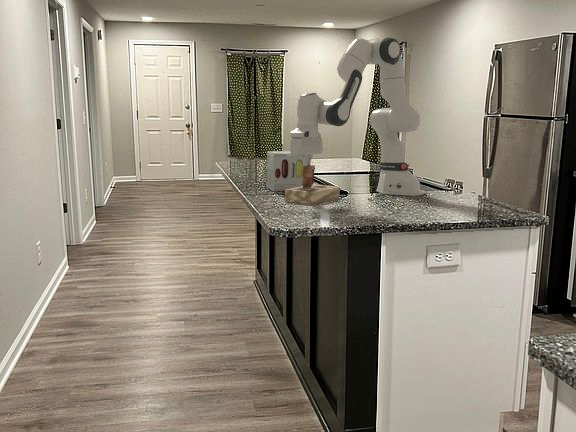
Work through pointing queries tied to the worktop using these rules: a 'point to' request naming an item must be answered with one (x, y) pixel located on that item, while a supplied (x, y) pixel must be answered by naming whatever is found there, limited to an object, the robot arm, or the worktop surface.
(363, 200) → the worktop surface
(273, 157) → the supplement box
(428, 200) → the worktop surface
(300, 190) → the board
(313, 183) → the food container
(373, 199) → the worktop surface
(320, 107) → the robot arm
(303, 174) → the peg
